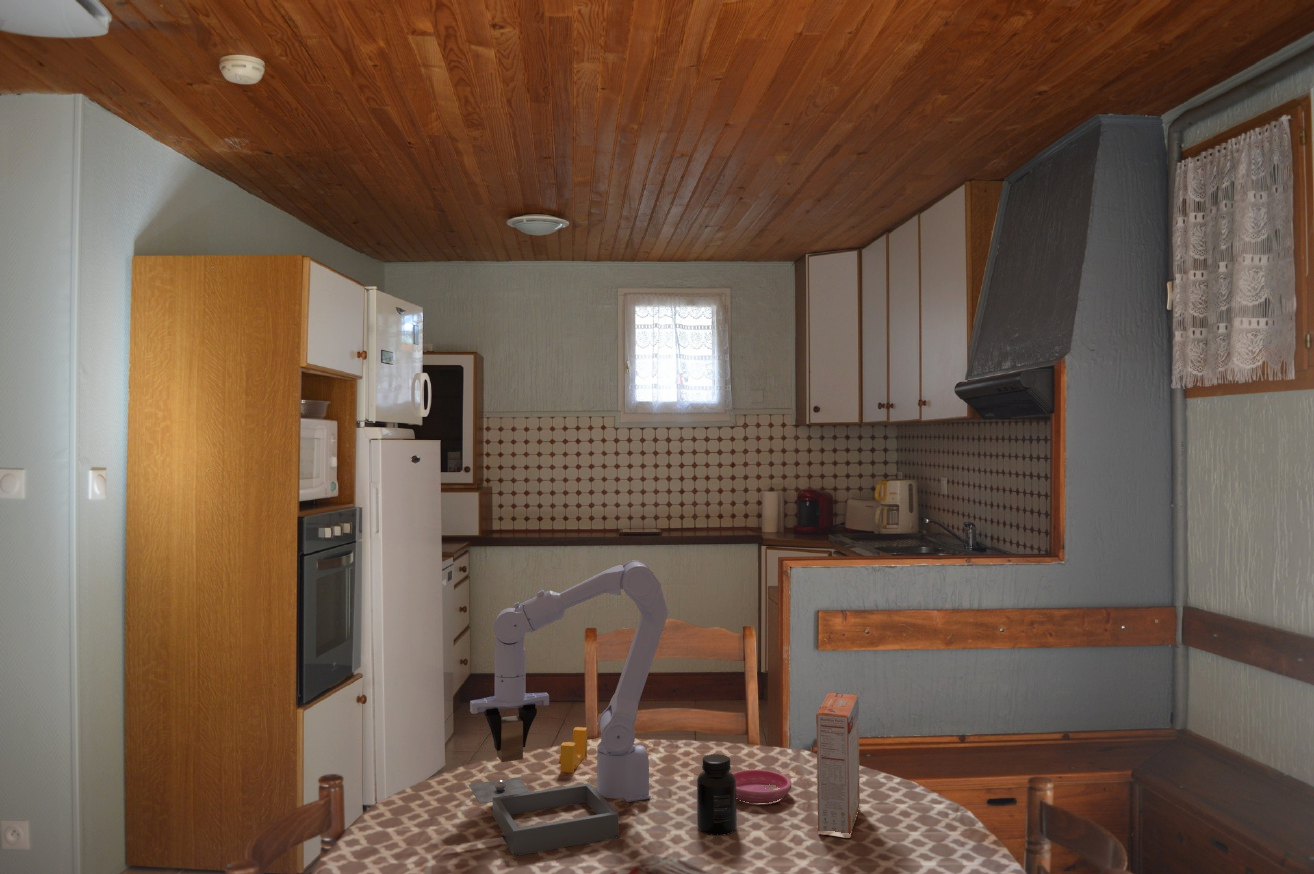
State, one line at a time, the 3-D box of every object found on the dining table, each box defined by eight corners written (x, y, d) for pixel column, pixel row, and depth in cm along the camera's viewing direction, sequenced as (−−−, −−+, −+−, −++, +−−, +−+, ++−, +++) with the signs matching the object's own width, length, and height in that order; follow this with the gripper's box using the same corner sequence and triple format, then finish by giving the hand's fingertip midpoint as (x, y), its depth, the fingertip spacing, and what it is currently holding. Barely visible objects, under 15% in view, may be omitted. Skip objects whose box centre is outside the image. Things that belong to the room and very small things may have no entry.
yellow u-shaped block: (567, 757, 189) (567, 726, 189) (587, 758, 188) (587, 727, 188) (552, 777, 177) (552, 744, 177) (573, 778, 176) (573, 745, 177)
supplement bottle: (740, 823, 155) (740, 754, 155) (731, 839, 149) (731, 767, 149) (703, 817, 157) (703, 749, 158) (691, 833, 151) (692, 762, 151)
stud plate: (519, 782, 174) (519, 767, 174) (533, 800, 165) (533, 785, 165) (468, 789, 170) (468, 774, 170) (479, 808, 161) (479, 793, 161)
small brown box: (523, 759, 164) (523, 721, 164) (501, 762, 162) (501, 724, 162) (517, 752, 168) (517, 715, 168) (496, 755, 166) (496, 717, 166)
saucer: (728, 782, 175) (728, 766, 175) (791, 786, 173) (791, 770, 173) (722, 807, 163) (722, 789, 163) (791, 811, 161) (791, 794, 161)
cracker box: (827, 804, 163) (827, 690, 164) (860, 809, 161) (860, 694, 162) (814, 835, 150) (814, 711, 151) (850, 840, 148) (850, 715, 149)
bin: (589, 804, 163) (589, 783, 163) (618, 837, 149) (618, 813, 149) (492, 820, 156) (492, 797, 156) (513, 856, 142) (513, 831, 142)
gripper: (542, 665, 172) (542, 736, 171) (467, 672, 166) (466, 745, 166) (552, 674, 165) (552, 747, 165) (474, 681, 160) (474, 757, 159)
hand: (509, 747), depth 165 cm, fingers closed on small brown box, 4 cm apart
